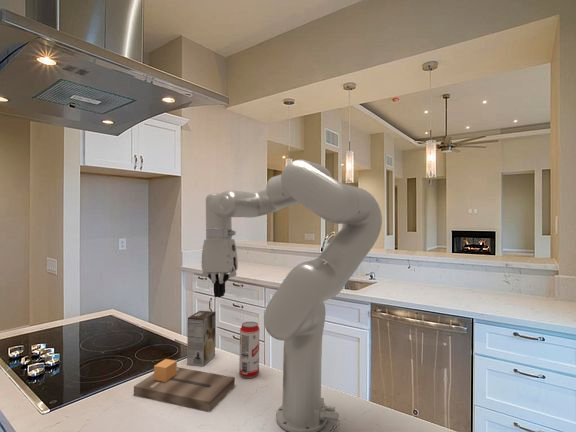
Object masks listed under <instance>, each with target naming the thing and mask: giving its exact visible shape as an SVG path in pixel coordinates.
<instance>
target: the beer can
mask: <svg viewBox="0 0 576 432" xmlns="http://www.w3.org/2000/svg"><path fill="white" fill-rule="evenodd" d="M260 332H261V330H260V327H259V324H258V322H257V321H245V322H242V323H241V327H240V329H239V367H238V368H239V369H238V370H239V374H240V376H241V377H242V378H245V379H253V378H255V377H257V375H258V374H259V373H260V334H261V333H260Z"/></svg>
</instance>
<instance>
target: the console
mask: <svg viewBox="0 0 576 432" xmlns="http://www.w3.org/2000/svg"><path fill="white" fill-rule="evenodd" d="M235 382H236V377H235V376H230V375H223V374H219V373H214V372H213V373H212V372H207V371H201V370H195V369H190V368H185V367H178V366H177V374H176V375H175V376H173V377H172V378H171V379H169V380H168V381H166V382H162V381H157V380H154V373H153V374H151V375H149V376H148V377H146V378H145V379H143V380H142V381H141V380H140V381H139V382H138V383H136V384H135V385H134V386H133V396H136V397H141V398H146V399H147V400H149V399H150V400H153V401H159V402H162V403H168V404H172V405H176V406H181V407H186V408H188V409H189V408H190V409H194V410H198V411H204V412H208V413H210V412H211V411H212V410H213V409H214V408H215V407H216V406H217V405H218V404H219V403H220V402H221V401H222V400H223V399H224V398H225V397H226V395H227V394H228V393H230V391H231V390H232V389H233V388H234V387H235V386H236V384H235Z"/></svg>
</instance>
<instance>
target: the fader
mask: <svg viewBox="0 0 576 432" xmlns="http://www.w3.org/2000/svg"><path fill="white" fill-rule="evenodd" d="M177 367H178V363H177V360H175V359H174V360H173V359H169V358H165V359H163V360H161V361H160V362H158V363H157V364H155V365H153V374H154V380H157V381H162V382H166V381H168V380H169V379H171V378H172V377H173V376H175V375H176V374H177Z"/></svg>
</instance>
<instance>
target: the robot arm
mask: <svg viewBox="0 0 576 432" xmlns="http://www.w3.org/2000/svg"><path fill="white" fill-rule="evenodd" d="M299 204H301V205H302V206H303V207H305V208H306V209H308V210H309V211H310V212H312V213H314V214H315V215H317V216H318V217H319V218H322V219H323V220H324V221H327V222H329V223H331V224H339V225H341V224H343V226H342V228H341V229H340V230H339V231H338V232H337V233H336V234H335V235H334V236H333V237H332V238H331V240H330V241H329V243H328V245H327V246H326V248H324V250H323V251H322V253H321V254H320V255H319V256H318V257H317V258H315V259H312V260H308V261H307V260H306V261H304V262H301V263H299V264H297V265H296V266H295V267H293V268H292V269H291V270H290V271H289V272H288V274H287V275H286V277H284V279H283V280H282V282H281V284H280V286H278V288H277V290H276V291H275V292H274V294H273V296H272V297H271V299H270V300H269V302H268V304H266V307H265V311H264V315H263V323H264V324H263V325H264V327H265V330H266V332H267V333H268V335H269V336H270V337H272V338H273V339H275V340H278V341H283V359H282V360H283V361H282V362H283V363H282V365H283V366H282V369H283V370H282V404H281V405H280V406H279V407H278V409H277V410H276V414H275V419H276V422H277V424H278V426H279V427H280V428H282V429H283V430H284V431H287V432H319V431H321V430H322V429H324V427H325V426H326V425H327V421H328V420H329V421H331V422H336V423H337V422H339V416H340V415H339V412H338V411H336V407H335V406H328V405H326V403H325V398H324V397H322V360H323V359H322V356H323V355H322V352H323V351H322V350H323V335H324V329H325V323H326V311H327V310H326V305H325V302H327V301H329V300H330V299H333V298H335V297H336V296H337V295H338V294H340V292H341V291H342V290H343V288H344V287H345V286H346V284H347V282H348V281H349V280H350V279H351V277H352V276H353V275H354V274H355V272H356V271H357V269H358V268H359V266H360V265H361V264H362V262H363V261H364V259H365V258H366V257H367V256H368V254H369V252H370V251H371V249H373V247H374V245H375V244H376V242H377V240H378V238H379V235H380V233H381V230H382V224H383V216H382V211H381V207H380V205H379V202H378V201H377V200H376V198H375V197H374V195H372V194H371V193H370V192H369V191H367V190H366V189H364V188H361V187H358V186H353V185H349V184H344V183H342V182H341V181H339V180H337V179H335V178H333V177H332V174H331V172H330V171H329V170H328V168H326V167H325V166H324V165H322V164H319V163H315V162H312V161H309V160H306V159H296V160H293V161H290V162H289V163H288V164H286V166H284V168H283V170H282V172H281V174H278V175H274V176H272V177H270V178H269V179H268V181H267V182H266V187H265V189H263V190H259V191H256V192H249V191H242V190H241V191H238V190H226V191H224V192H223V191H222V192H219V193H218V192H216V193H210V194H207V195H206V197H205V239H204V240H203V244H202V250H201V251H202V252H201V271H202V274H201V275H202V276H203V277H206V278H209V279H210V281H211V283H212V284H213V294H214V298H222V297H224V296H225V295H226V283H227V281H228V280H229V279H230V278H234V277H236V276H237V270H238V268H239V267H238V266H239V264H238V261H239V260H238V252H237V251H238V250H237V247H236V240H235V238H233V236H236V235H237V234H236V232H237V231H235V230H233V229H232V218H257V217H262V216H266V215H269V214H273V213H275V212H277V211H280V210H281V209H283V208H287V207H290V206H294V205H299Z"/></svg>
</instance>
